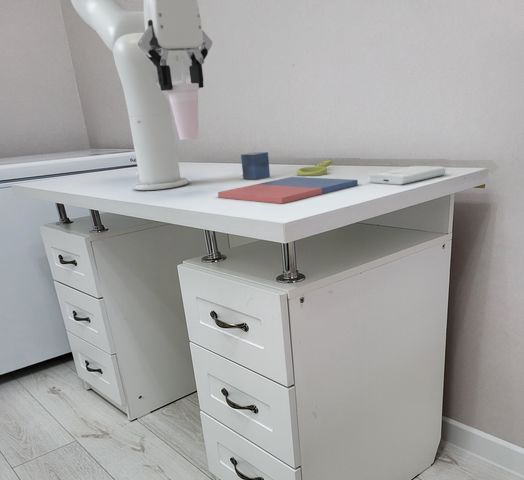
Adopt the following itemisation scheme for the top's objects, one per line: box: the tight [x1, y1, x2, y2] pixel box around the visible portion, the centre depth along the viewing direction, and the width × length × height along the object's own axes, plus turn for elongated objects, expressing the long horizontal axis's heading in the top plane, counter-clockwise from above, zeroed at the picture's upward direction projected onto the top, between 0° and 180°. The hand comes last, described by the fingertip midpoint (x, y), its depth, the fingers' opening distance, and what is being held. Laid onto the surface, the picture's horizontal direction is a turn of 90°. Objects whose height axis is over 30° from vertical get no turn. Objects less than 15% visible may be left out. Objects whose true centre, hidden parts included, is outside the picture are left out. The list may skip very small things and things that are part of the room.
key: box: [296, 158, 334, 177], centre depth 127 cm, size 7×12×2 cm, turn 165°
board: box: [217, 176, 359, 204], centre depth 104 cm, size 18×20×1 cm
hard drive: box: [369, 165, 447, 186], centre depth 104 cm, size 2×8×12 cm
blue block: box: [240, 151, 271, 181], centre depth 126 cm, size 4×4×6 cm
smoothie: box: [165, 59, 200, 141], centre depth 104 cm, size 6×6×14 cm
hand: (182, 88), depth 103 cm, fingers closed on smoothie, 6 cm apart
